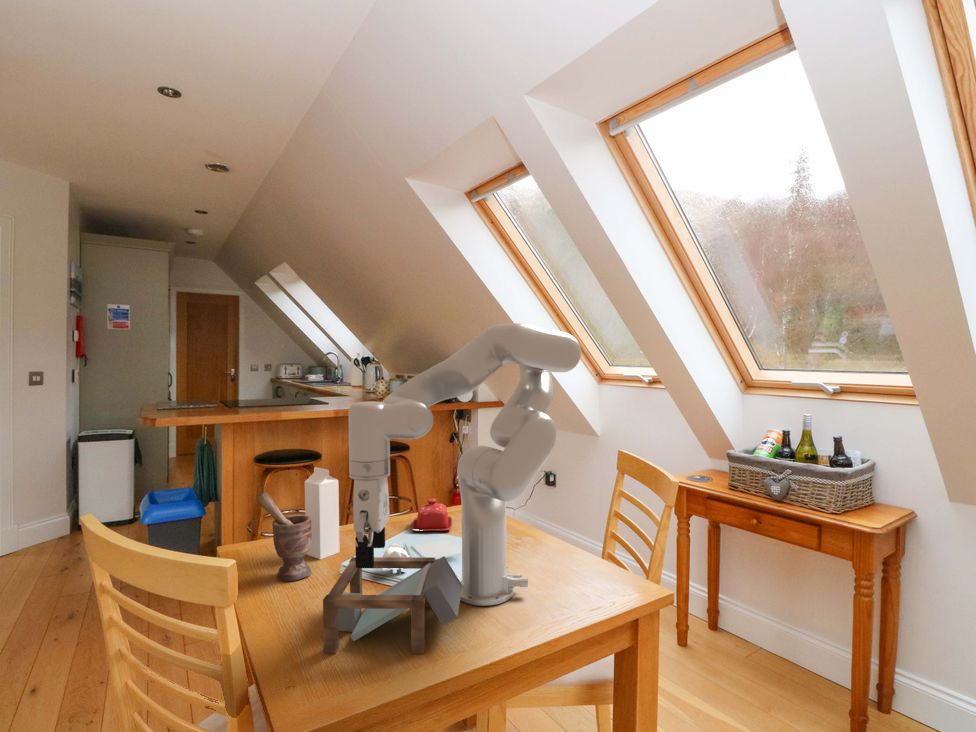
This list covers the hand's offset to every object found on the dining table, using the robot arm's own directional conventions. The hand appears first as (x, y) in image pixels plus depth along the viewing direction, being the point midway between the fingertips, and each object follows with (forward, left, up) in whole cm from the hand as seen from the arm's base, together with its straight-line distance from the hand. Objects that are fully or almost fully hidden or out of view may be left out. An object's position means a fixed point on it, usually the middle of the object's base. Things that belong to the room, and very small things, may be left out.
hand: (371, 557), depth 105 cm
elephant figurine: (0, -25, -14) cm, 28 cm away
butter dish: (-5, -57, -14) cm, 59 cm away
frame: (-3, 0, -13) cm, 14 cm away
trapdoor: (-9, 0, -13) cm, 16 cm away
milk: (+21, -36, -14) cm, 44 cm away
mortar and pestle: (+25, -22, -14) cm, 36 cm away
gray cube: (+3, 0, -11) cm, 11 cm away
